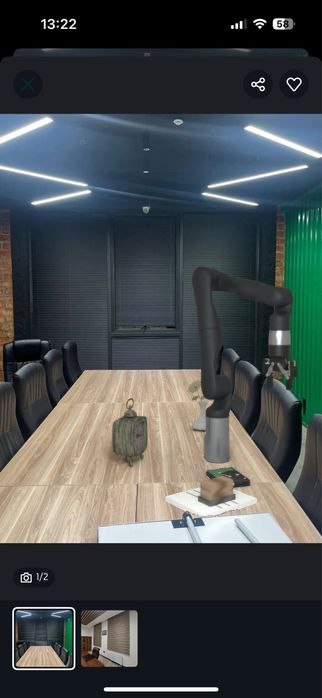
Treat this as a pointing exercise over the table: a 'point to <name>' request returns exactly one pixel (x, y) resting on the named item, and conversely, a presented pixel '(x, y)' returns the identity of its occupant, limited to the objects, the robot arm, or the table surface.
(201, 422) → the flower in vase
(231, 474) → the disk drive
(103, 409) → the table surface
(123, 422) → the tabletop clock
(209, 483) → the sanding block
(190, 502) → the board
